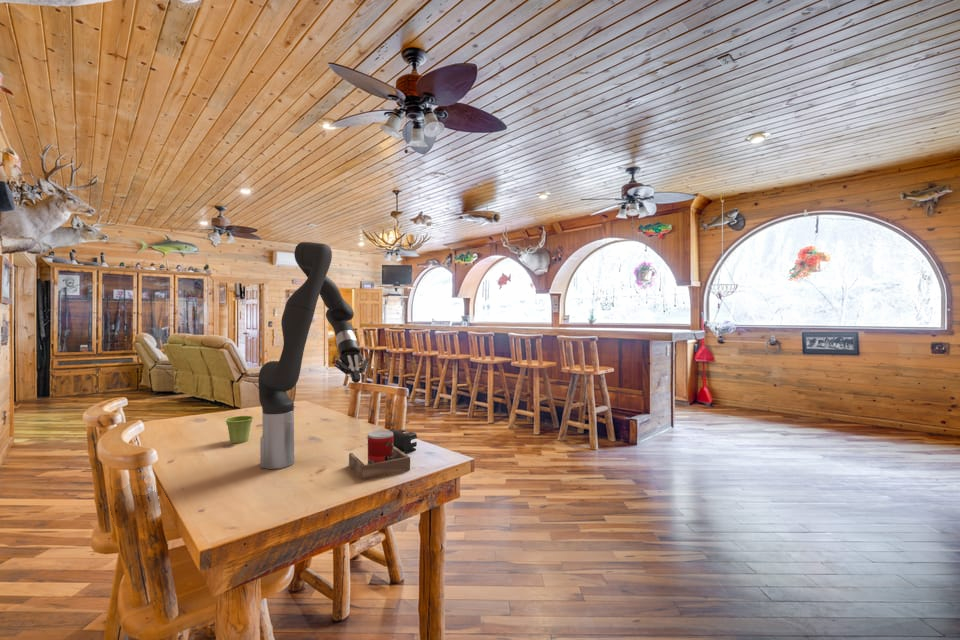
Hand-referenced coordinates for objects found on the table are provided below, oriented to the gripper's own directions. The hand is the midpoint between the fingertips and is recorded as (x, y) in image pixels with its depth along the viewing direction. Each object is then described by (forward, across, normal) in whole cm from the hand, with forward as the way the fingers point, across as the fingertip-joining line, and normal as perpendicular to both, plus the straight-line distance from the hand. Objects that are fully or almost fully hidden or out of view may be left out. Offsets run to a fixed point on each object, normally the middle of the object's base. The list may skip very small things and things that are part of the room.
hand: (357, 381), depth 153 cm
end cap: (+24, +13, +12) cm, 29 cm away
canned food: (+33, +1, +2) cm, 33 cm away
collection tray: (+32, +1, +2) cm, 32 cm away
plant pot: (-6, -35, +42) cm, 55 cm away
